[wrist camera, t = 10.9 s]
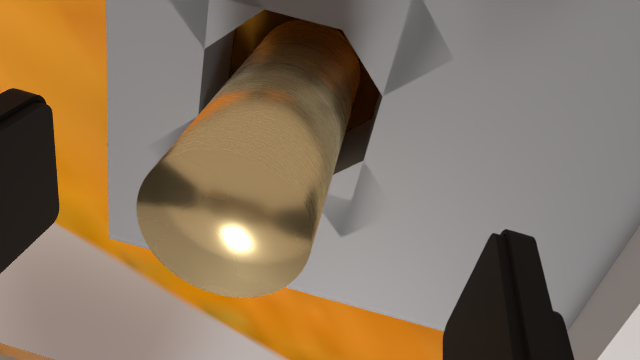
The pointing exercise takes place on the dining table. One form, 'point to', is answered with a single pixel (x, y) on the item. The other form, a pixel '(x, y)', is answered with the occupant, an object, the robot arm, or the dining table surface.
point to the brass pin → (254, 166)
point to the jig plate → (429, 146)
